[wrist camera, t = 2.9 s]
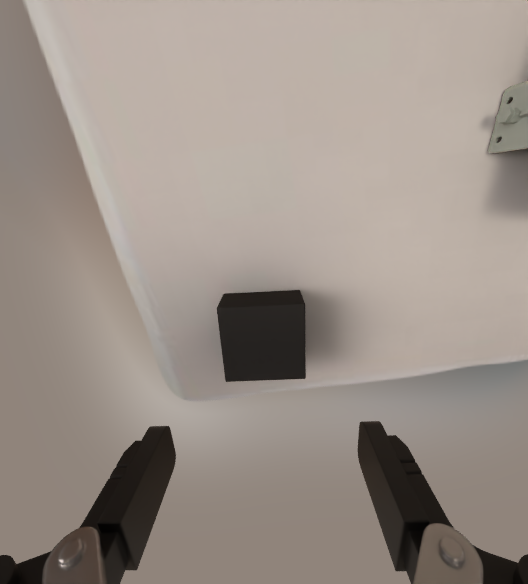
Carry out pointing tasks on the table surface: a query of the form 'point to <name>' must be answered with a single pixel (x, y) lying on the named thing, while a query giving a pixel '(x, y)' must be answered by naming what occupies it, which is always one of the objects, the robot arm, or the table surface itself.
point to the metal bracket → (511, 121)
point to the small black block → (262, 335)
